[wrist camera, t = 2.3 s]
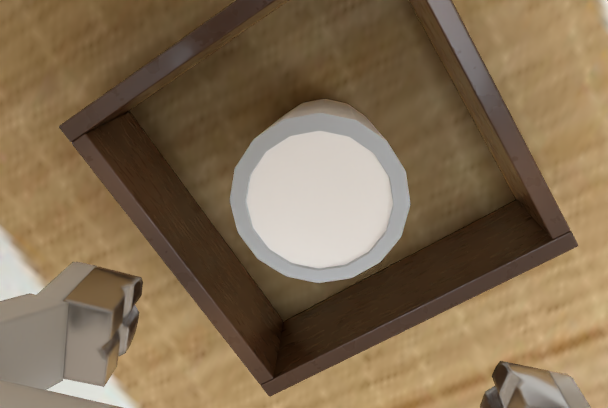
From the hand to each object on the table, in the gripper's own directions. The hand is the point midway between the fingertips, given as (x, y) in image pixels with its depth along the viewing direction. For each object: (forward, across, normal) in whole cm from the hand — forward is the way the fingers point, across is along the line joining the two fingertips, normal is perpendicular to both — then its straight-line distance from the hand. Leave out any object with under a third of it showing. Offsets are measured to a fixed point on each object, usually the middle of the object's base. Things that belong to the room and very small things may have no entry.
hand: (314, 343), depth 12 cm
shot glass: (+16, 0, 0) cm, 16 cm away
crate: (+16, 0, 0) cm, 16 cm away
